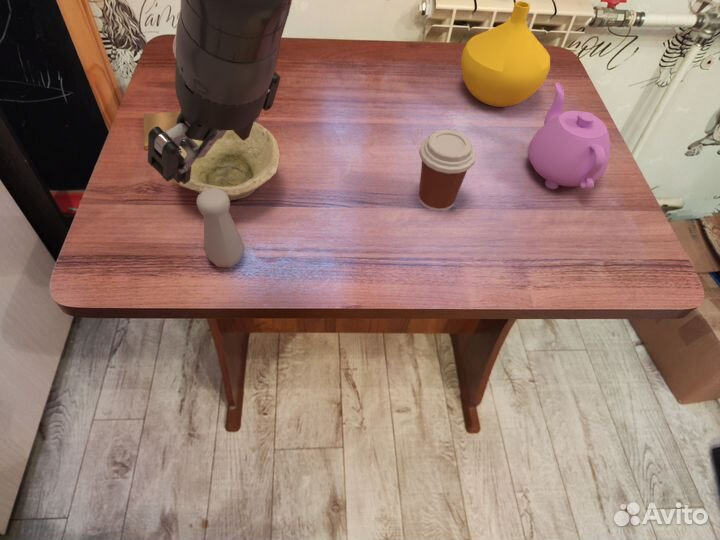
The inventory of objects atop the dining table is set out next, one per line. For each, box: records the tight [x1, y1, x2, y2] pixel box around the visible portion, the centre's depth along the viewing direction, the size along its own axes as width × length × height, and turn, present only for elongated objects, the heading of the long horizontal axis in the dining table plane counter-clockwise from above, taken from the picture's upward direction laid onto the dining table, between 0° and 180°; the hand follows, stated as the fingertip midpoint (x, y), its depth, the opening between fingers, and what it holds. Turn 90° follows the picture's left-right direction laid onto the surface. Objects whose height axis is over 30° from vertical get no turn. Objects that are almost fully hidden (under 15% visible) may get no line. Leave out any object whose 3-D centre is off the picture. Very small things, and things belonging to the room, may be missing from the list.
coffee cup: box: [417, 129, 477, 212], centre depth 81 cm, size 9×9×12 cm
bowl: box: [172, 121, 280, 201], centre depth 80 cm, size 14×18×15 cm
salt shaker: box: [196, 188, 245, 269], centre depth 70 cm, size 6×6×13 cm
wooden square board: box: [143, 110, 181, 151], centre depth 93 cm, size 10×10×1 cm
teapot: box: [527, 81, 611, 191], centre depth 88 cm, size 20×14×12 cm
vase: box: [460, 0, 551, 108], centre depth 101 cm, size 18×18×19 cm
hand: (210, 154), depth 53 cm, fingers open, 8 cm apart
